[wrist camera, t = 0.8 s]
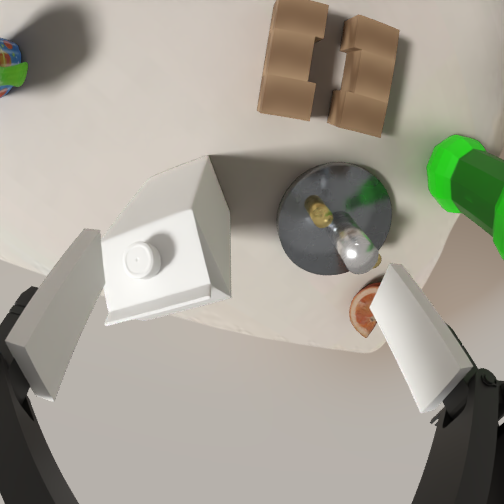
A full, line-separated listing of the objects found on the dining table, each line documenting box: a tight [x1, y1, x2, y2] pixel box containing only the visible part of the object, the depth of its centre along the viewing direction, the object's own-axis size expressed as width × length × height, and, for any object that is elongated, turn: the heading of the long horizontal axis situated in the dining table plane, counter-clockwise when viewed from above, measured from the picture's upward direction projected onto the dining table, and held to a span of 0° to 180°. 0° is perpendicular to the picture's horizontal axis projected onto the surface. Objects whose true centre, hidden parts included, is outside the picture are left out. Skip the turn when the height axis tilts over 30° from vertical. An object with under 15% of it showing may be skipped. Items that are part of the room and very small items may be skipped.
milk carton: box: [101, 156, 232, 326], centre depth 24 cm, size 7×7×19 cm
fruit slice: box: [349, 282, 381, 338], centre depth 40 cm, size 8×7×5 cm
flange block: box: [257, 0, 399, 138], centre depth 24 cm, size 12×12×4 cm
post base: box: [277, 162, 392, 275], centre depth 31 cm, size 14×14×9 cm
